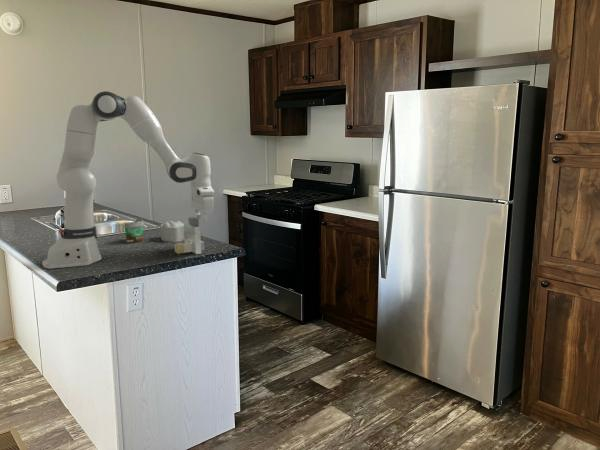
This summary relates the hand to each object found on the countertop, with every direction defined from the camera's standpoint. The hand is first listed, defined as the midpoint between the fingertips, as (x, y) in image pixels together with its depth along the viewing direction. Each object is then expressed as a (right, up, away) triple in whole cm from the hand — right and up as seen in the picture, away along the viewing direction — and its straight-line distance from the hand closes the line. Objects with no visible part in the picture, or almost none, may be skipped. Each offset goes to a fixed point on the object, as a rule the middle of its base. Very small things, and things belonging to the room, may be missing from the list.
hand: (201, 220), depth 228 cm
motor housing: (-4, -13, 0) cm, 14 cm away
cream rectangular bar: (-5, -14, 0) cm, 15 cm away
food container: (-35, -10, +19) cm, 41 cm away
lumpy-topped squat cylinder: (-19, -9, +24) cm, 32 cm away
